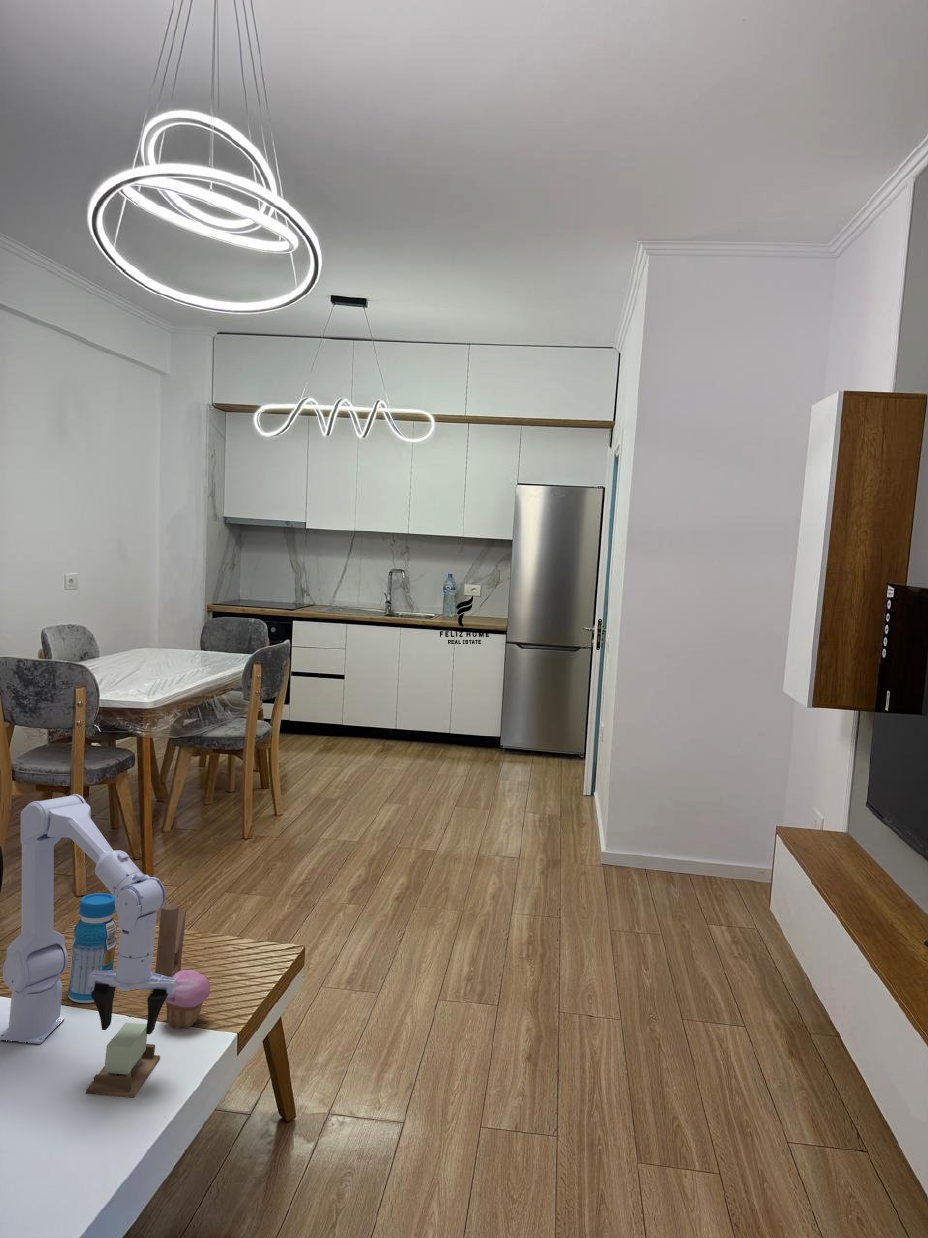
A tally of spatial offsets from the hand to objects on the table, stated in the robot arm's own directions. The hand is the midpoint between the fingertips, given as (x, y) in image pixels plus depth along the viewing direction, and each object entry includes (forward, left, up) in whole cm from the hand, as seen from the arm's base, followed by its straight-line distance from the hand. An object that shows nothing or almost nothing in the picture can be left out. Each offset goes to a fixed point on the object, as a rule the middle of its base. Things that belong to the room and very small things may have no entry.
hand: (128, 1029), depth 144 cm
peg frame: (0, 0, -8) cm, 8 cm away
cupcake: (-19, +4, -8) cm, 21 cm away
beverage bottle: (-27, -18, -8) cm, 33 cm away
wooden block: (-35, -5, -8) cm, 36 cm away
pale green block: (0, 0, -5) cm, 5 cm away
